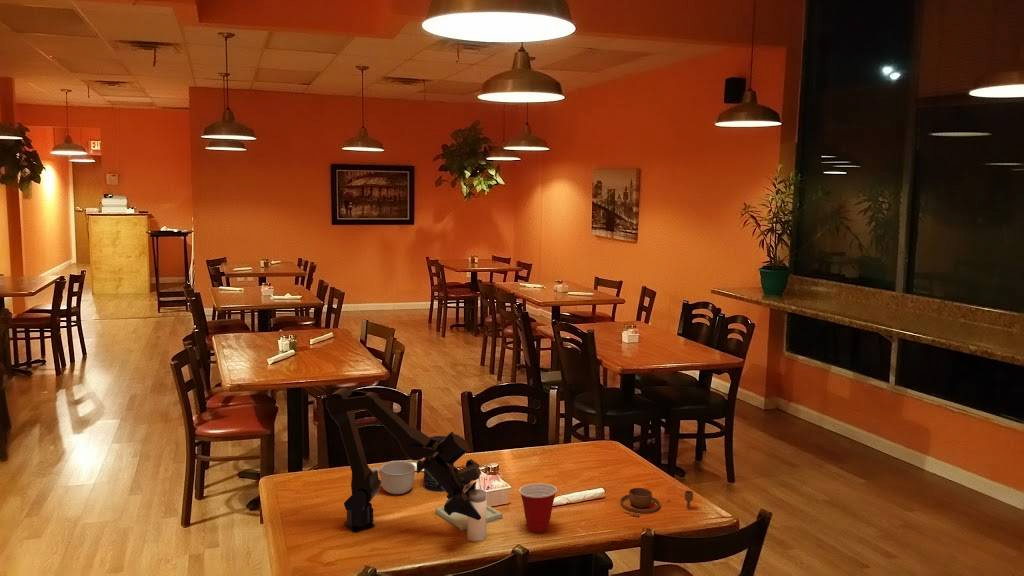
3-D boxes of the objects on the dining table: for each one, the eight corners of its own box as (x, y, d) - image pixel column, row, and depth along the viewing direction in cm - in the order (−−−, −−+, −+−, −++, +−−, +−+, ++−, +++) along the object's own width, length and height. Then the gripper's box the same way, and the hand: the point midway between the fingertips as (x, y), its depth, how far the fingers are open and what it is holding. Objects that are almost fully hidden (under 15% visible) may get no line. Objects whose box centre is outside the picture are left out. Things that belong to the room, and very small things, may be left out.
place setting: (635, 493, 247) (636, 475, 247) (695, 509, 236) (696, 491, 235) (608, 511, 233) (609, 492, 233) (670, 529, 222) (671, 510, 221)
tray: (462, 530, 217) (462, 525, 217) (435, 513, 228) (435, 508, 228) (502, 518, 225) (502, 513, 225) (474, 502, 236) (474, 497, 236)
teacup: (418, 485, 248) (418, 461, 247) (410, 498, 238) (410, 473, 237) (375, 482, 250) (375, 458, 249) (366, 496, 239) (366, 471, 238)
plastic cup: (533, 517, 227) (534, 477, 225) (563, 528, 220) (565, 487, 218) (509, 529, 218) (510, 488, 217) (540, 541, 212) (541, 499, 210)
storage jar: (460, 484, 250) (461, 439, 248) (442, 494, 242) (443, 448, 240) (435, 477, 255) (436, 433, 253) (417, 487, 247) (417, 442, 245)
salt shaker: (474, 543, 209) (474, 498, 208) (463, 536, 214) (463, 491, 212) (489, 538, 213) (490, 493, 211) (478, 531, 217) (479, 487, 215)
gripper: (456, 466, 201) (497, 510, 201) (469, 443, 220) (507, 483, 220) (426, 493, 203) (467, 536, 203) (442, 468, 222) (479, 507, 222)
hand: (481, 514), depth 212 cm, fingers closed on salt shaker, 5 cm apart
